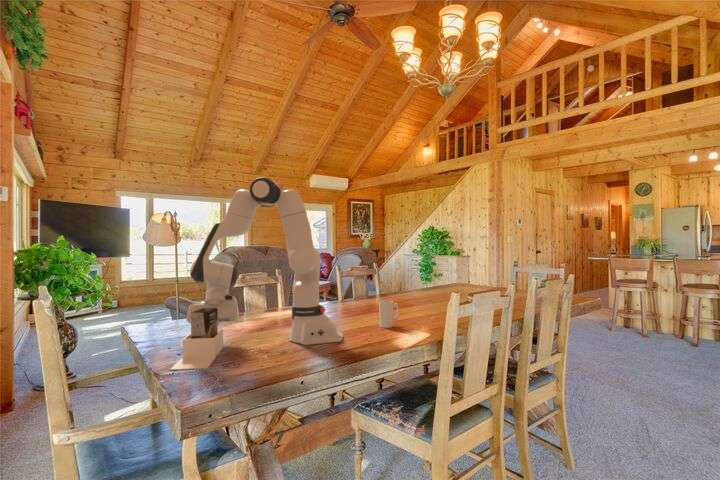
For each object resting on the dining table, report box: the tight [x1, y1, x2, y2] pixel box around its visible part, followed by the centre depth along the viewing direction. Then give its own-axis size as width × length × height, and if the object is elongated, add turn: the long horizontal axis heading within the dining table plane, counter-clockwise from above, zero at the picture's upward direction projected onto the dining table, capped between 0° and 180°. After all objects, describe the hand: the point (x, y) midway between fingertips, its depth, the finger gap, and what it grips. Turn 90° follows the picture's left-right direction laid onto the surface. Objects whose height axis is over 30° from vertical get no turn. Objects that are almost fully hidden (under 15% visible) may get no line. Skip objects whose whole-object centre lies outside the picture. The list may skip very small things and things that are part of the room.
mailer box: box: [169, 329, 224, 371], centre depth 142 cm, size 12×25×7 cm, turn 7°
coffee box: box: [190, 308, 219, 339], centre depth 148 cm, size 9×6×16 cm
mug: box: [378, 299, 400, 329], centre depth 187 cm, size 10×7×12 cm, turn 105°
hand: (210, 330), depth 156 cm, fingers closed
